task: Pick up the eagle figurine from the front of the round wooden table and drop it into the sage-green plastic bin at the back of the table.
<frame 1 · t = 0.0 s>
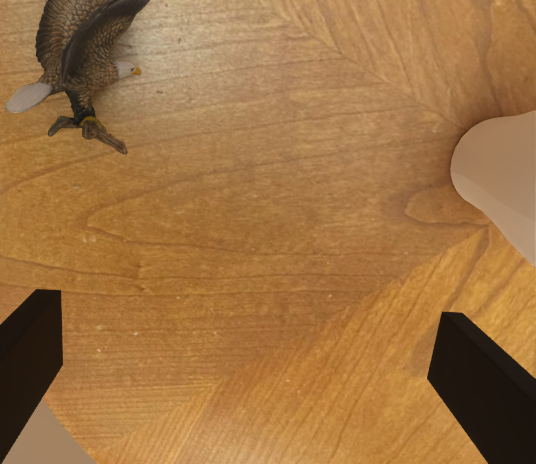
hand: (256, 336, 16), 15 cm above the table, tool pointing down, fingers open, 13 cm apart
cup: (490, 162, 31), on the table
eagle figurine: (105, 57, 27), on the table
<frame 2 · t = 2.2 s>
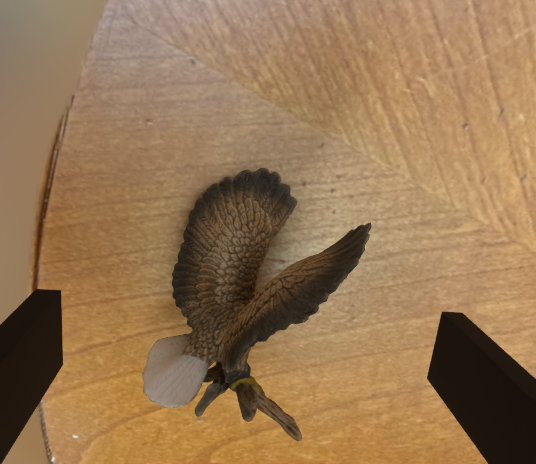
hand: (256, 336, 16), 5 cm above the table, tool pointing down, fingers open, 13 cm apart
eagle figurine: (249, 273, 21), on the table
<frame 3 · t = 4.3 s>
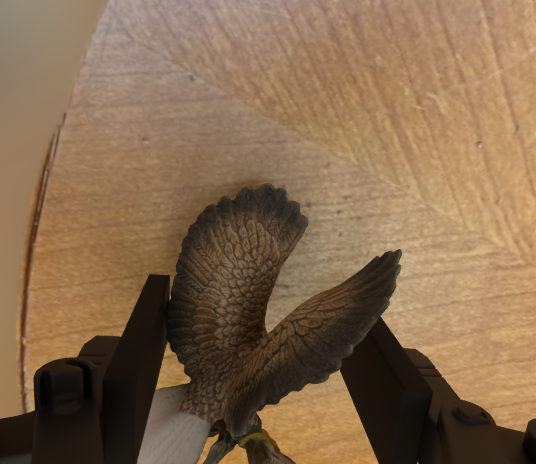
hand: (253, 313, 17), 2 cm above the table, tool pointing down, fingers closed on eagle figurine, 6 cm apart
eagle figurine: (256, 304, 18), point 1 cm above the table, touching gripper
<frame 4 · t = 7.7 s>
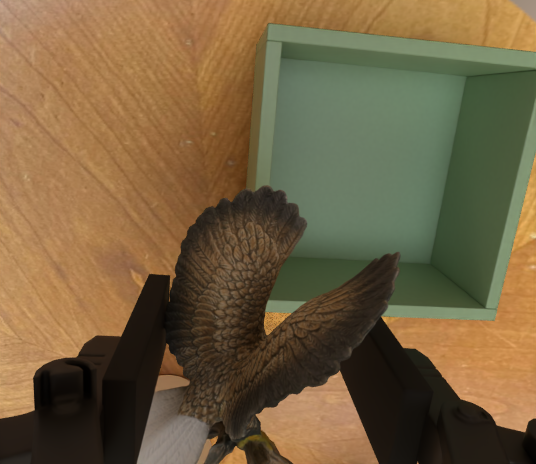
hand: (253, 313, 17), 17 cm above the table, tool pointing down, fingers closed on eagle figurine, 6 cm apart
cup: (168, 403, 38), on the table
eagle figurine: (255, 306, 18), point 17 cm above the table, touching gripper
bin: (352, 167, 34), on the table
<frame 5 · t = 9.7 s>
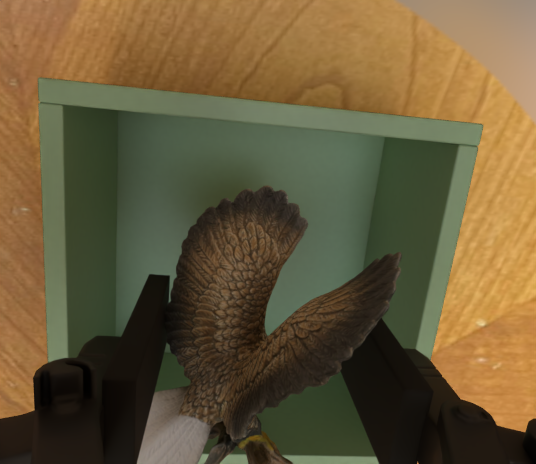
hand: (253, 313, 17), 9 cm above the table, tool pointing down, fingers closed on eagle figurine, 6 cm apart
eagle figurine: (256, 306, 18), point 9 cm above the table, touching gripper
bin: (244, 240, 26), on the table
when the fingers open (5 cm above the table, at t = 11.4 s): eagle figurine drops 4 cm, resting on bin.
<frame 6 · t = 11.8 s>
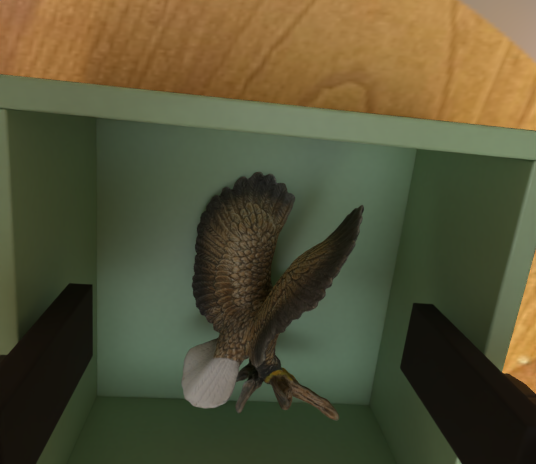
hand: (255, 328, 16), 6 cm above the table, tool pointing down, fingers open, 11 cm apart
eagle figurine: (264, 272, 22), point 1 cm above the table, touching bin
bin: (248, 267, 22), on the table
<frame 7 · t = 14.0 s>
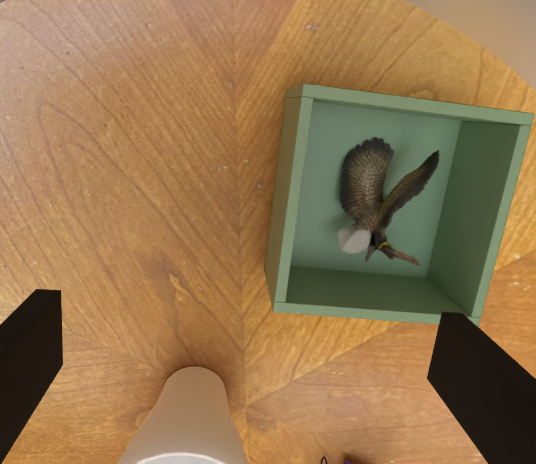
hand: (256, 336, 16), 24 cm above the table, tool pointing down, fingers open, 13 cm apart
cup: (194, 392, 43), on the table
eagle figurine: (372, 194, 39), point 1 cm above the table, touching bin
bin: (362, 192, 39), on the table
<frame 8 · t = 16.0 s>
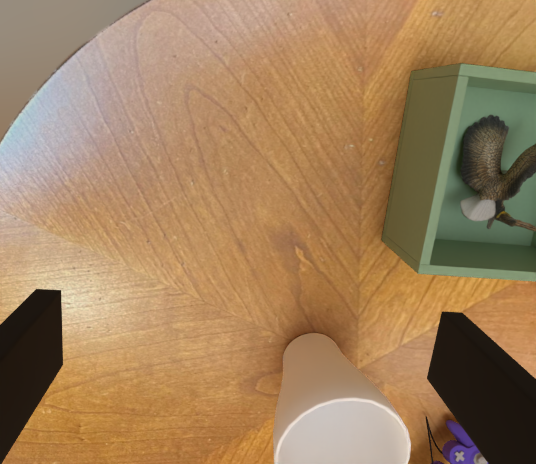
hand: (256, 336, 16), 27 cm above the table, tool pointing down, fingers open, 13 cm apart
game controller: (443, 448, 52), on the table
cup: (310, 357, 47), on the table
eagle figurine: (485, 168, 42), point 1 cm above the table, touching bin
bin: (474, 167, 42), on the table
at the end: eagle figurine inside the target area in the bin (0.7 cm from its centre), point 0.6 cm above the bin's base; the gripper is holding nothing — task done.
